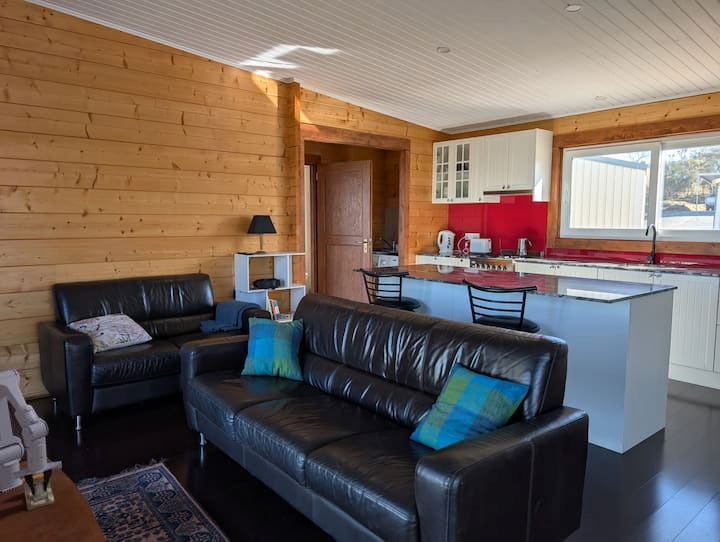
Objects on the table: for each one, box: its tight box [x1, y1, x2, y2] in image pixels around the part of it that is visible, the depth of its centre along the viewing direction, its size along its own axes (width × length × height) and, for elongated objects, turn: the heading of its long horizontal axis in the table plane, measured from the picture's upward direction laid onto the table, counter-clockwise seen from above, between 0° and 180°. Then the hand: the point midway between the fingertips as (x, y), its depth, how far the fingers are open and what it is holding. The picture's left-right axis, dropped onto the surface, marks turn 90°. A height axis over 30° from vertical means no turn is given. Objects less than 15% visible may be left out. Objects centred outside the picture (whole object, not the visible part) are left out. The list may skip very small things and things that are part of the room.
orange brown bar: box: [21, 472, 53, 486], centre depth 191 cm, size 2×9×2 cm, turn 127°
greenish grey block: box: [33, 481, 47, 501], centre depth 186 cm, size 4×4×5 cm
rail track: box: [23, 479, 56, 511], centre depth 188 cm, size 14×8×4 cm, turn 37°
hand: (39, 492), depth 186 cm, fingers closed on greenish grey block, 3 cm apart
